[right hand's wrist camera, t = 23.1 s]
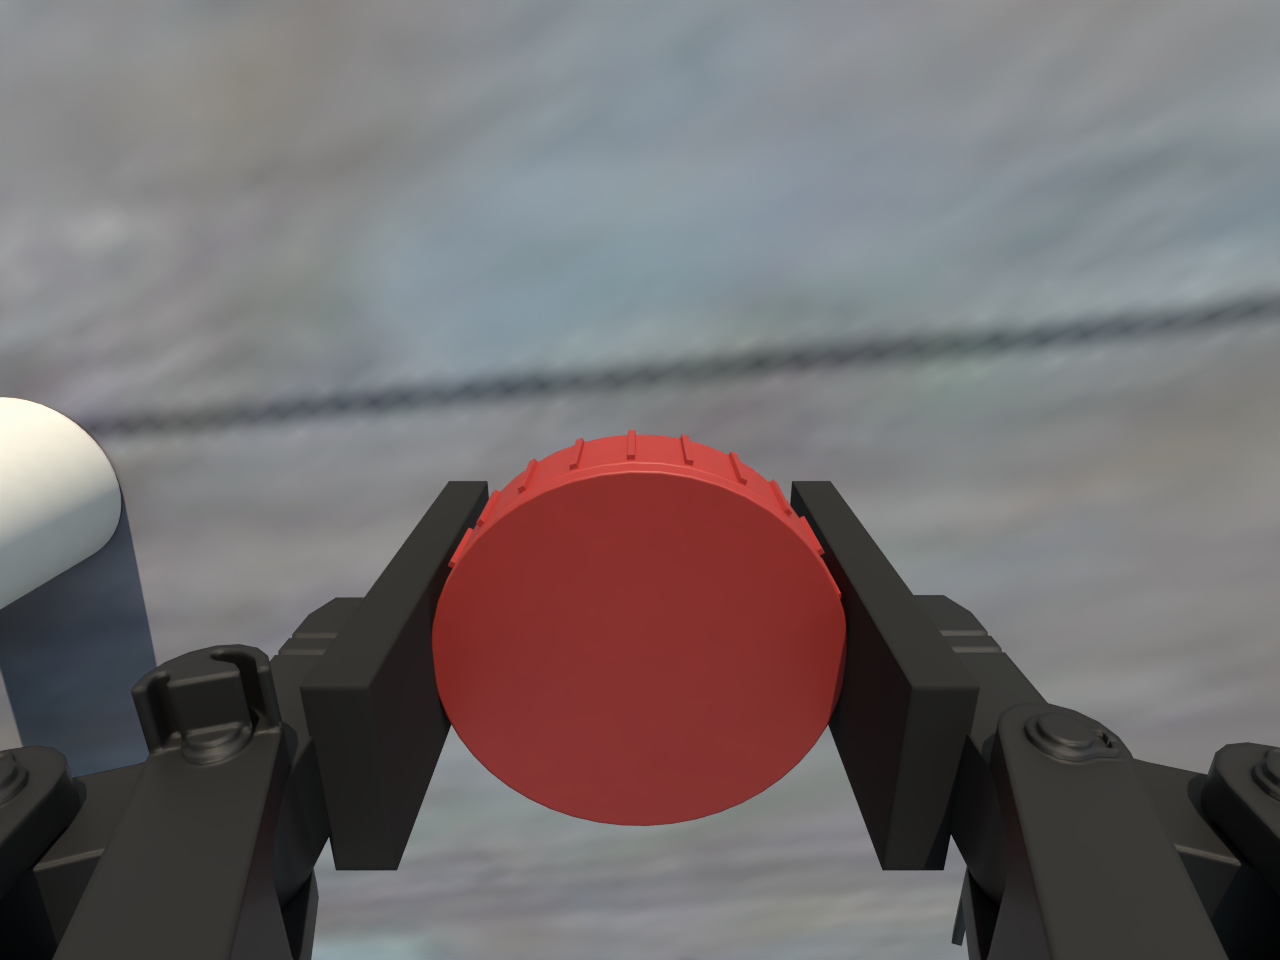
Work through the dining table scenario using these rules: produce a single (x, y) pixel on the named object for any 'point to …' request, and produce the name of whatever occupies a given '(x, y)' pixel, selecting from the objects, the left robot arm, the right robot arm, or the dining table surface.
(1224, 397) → the dining table surface
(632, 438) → the lid
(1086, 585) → the dining table surface
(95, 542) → the jar
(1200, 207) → the dining table surface
